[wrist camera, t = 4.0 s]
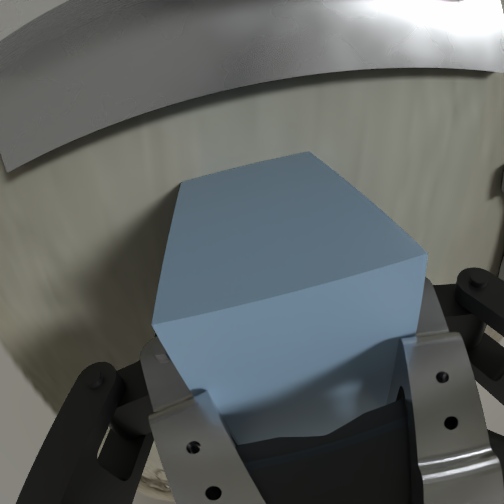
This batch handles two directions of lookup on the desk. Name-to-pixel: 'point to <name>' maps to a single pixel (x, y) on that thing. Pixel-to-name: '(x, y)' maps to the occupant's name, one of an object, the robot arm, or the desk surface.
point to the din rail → (207, 53)
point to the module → (286, 297)
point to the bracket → (503, 269)
